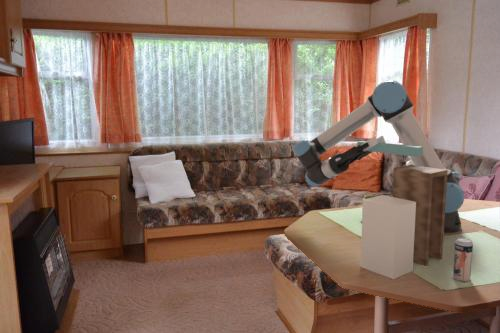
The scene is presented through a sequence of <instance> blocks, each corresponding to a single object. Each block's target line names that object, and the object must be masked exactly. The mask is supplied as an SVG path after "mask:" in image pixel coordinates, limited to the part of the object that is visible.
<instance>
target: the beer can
mask: <svg viewBox="0 0 500 333" xmlns="http://www.w3.org/2000/svg"><path fill="white" fill-rule="evenodd" d="M473 247H474V243H473V241H472V239H469V238H465V237H458V238H457V239H456V240H455V241H454V255H453V271H452V277H453V279H455V280H456V281H459V282H469V281H470V280H471V273H472V261H473V250H474V249H473Z"/></svg>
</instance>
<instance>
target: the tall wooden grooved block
mask: <svg viewBox="0 0 500 333" xmlns="http://www.w3.org/2000/svg"><path fill="white" fill-rule="evenodd" d="M445 169H446V168H445ZM445 169H437V168H430V167H423V166H416V165H408V166H406V165H404V166H400V167H399V166H398V167H394V168H393V177H392V178H393V179H392V197H395V198H400V199H405V200H409V201H414V202H416V214H415V234H414V254H413V262H414V263H413V264H417V265H420V266H423V267H427V266H429V258H431V259H435V260H438V261H441V260H443V250H444V237H445V235H444V234H445V232H444V221H445V205H446V189H447V172H448V170H445Z"/></svg>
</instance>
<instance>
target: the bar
mask: <svg viewBox="0 0 500 333" xmlns="http://www.w3.org/2000/svg"><path fill="white" fill-rule="evenodd" d="M366 141H367V140H361V141H357V144H356V147H357V146H358V145H360V146H361V144H363V143H365V142H366ZM366 151H371V152H372V153H380V154H381V153H382V154H389V155H398V156H407V157H408V156H413V157H419V156H423V147H420V146H410V145H403V144H397V143H390V142H389V143H388V142H386V143H379V142H378V144H377V145H375V146H373V147H372V148H370V149H368V150H366Z"/></svg>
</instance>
